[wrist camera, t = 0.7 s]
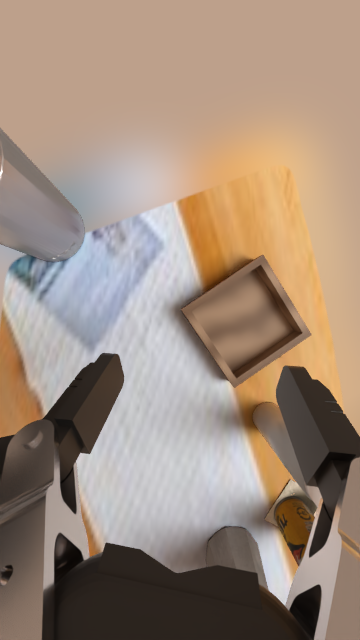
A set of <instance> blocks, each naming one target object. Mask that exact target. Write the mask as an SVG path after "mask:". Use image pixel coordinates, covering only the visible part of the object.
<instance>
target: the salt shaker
mask: <svg viewBox="0 0 360 640" xmlns="http://www.w3.org/2000/svg"><path fill="white" fill-rule="evenodd" d="M253 423H254V425H255V426H256V427H257V429H258V430H259V432H260V433H261V434H262V436H263V437H264V438H265V440H266V441H267V442H268V444H269V445H270V447H271V448H272V449H273V451H274V452H275V453H276V455H277V456H278V457H279V459H280V460H281V462H282V463H283V464H284V466H285V467H286V468H287V470H288V471H289V472H290V474H291V475H292V477H293V478H294V479H295V481H296V482H297V483H298V485H299V486H300V487H301V489H302V490H303V492H304V493H305V494H306V496H307V497H308V498H309V499H310V500H312V501H313V502H314V503H315V505H316V506H317V507H318V505H319V502H320V499H321V498H322V496H321V493H320V491H319V488H318V487H314V486H306V484H305V481H304V478H303V475H302V472H301V469H300V466H299V463H298V461H297V458H296V455H295V452H294V449H293V446H292V443H291V440H290V437H289V434H288V432H287V429H286V426H285V423H284V420H283V417H282V414H281V411H280V408H279V407H278V406H277V405H276V404H274V403H271V402H265V403H262V404H260V405H259V406H257V407H256V409H255V410H254V412H253Z"/></svg>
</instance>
